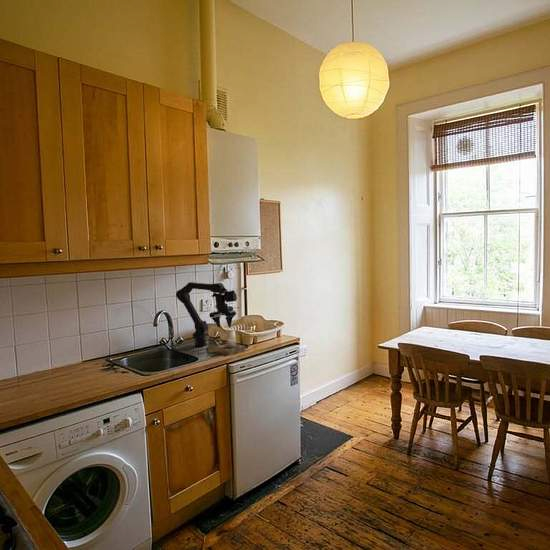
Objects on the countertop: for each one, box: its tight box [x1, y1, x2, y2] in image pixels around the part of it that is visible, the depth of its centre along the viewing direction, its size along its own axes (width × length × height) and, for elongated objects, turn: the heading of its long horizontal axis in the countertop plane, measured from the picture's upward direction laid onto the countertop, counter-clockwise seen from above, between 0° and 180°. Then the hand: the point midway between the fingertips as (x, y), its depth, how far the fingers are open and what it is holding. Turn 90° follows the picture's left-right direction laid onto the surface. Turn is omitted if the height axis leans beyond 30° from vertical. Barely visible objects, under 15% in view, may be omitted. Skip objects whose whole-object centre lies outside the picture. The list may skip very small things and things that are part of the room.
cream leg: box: [226, 328, 237, 348], centre depth 238 cm, size 5×5×13 cm
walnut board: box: [214, 343, 246, 356], centre depth 239 cm, size 13×13×3 cm
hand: (224, 327), depth 251 cm, fingers open, 9 cm apart
